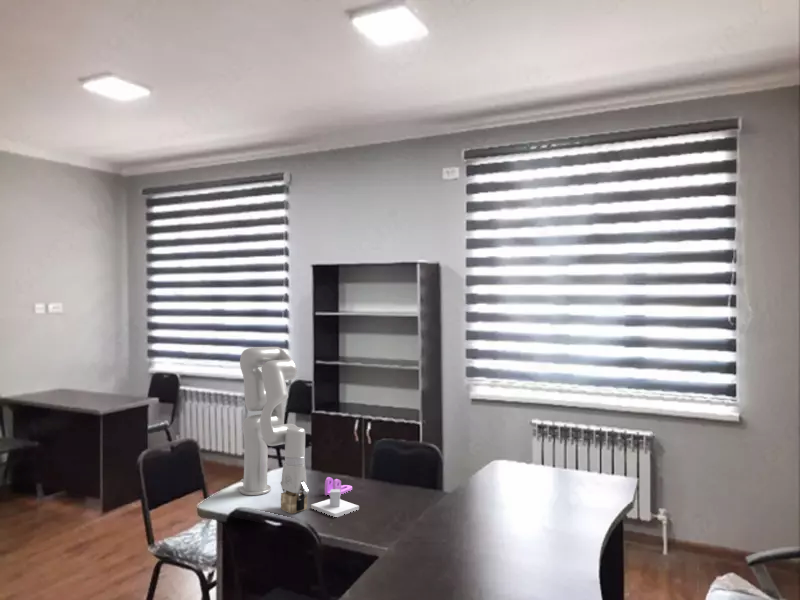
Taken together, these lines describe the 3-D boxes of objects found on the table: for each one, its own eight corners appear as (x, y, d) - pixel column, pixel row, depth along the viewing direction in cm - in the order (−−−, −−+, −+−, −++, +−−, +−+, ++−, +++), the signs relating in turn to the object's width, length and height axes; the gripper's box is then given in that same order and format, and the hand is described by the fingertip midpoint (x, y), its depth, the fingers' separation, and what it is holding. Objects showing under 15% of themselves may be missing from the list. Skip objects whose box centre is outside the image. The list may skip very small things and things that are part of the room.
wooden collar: (280, 509, 215) (281, 493, 215) (295, 504, 220) (296, 489, 220) (292, 513, 210) (292, 497, 210) (307, 509, 215) (307, 493, 215)
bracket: (335, 498, 229) (335, 480, 230) (324, 495, 232) (324, 478, 233) (354, 489, 240) (355, 473, 240) (344, 487, 243) (344, 471, 243)
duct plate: (310, 508, 216) (311, 490, 216) (334, 501, 225) (335, 483, 225) (335, 517, 207) (335, 498, 207) (359, 509, 216) (359, 491, 216)
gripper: (273, 458, 219) (272, 504, 218) (301, 466, 207) (300, 515, 206) (289, 454, 224) (288, 499, 224) (317, 463, 212) (316, 510, 212)
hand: (294, 507), depth 215 cm, fingers closed on wooden collar, 7 cm apart
